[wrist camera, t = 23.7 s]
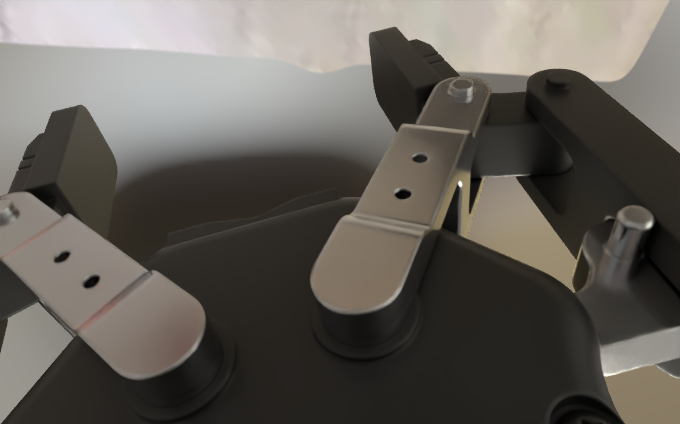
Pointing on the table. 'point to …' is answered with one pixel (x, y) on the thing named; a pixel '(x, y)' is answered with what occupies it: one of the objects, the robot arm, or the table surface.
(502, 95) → the robot arm
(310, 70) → the table surface
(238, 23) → the table surface
